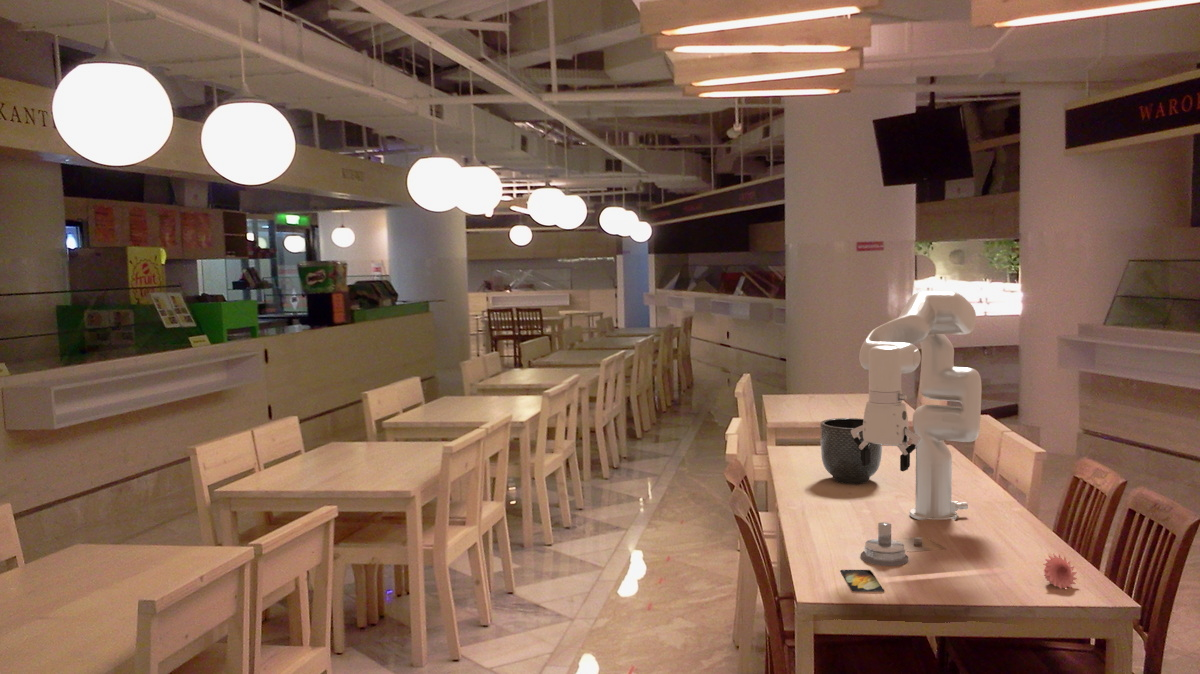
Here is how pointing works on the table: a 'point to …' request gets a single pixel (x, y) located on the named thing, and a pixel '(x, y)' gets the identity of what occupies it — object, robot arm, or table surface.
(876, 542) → the metal knob with peg
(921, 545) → the stand
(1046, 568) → the flower
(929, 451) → the robot arm
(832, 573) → the table surface
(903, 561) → the metal pot lid
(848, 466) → the planter
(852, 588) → the smartphone
